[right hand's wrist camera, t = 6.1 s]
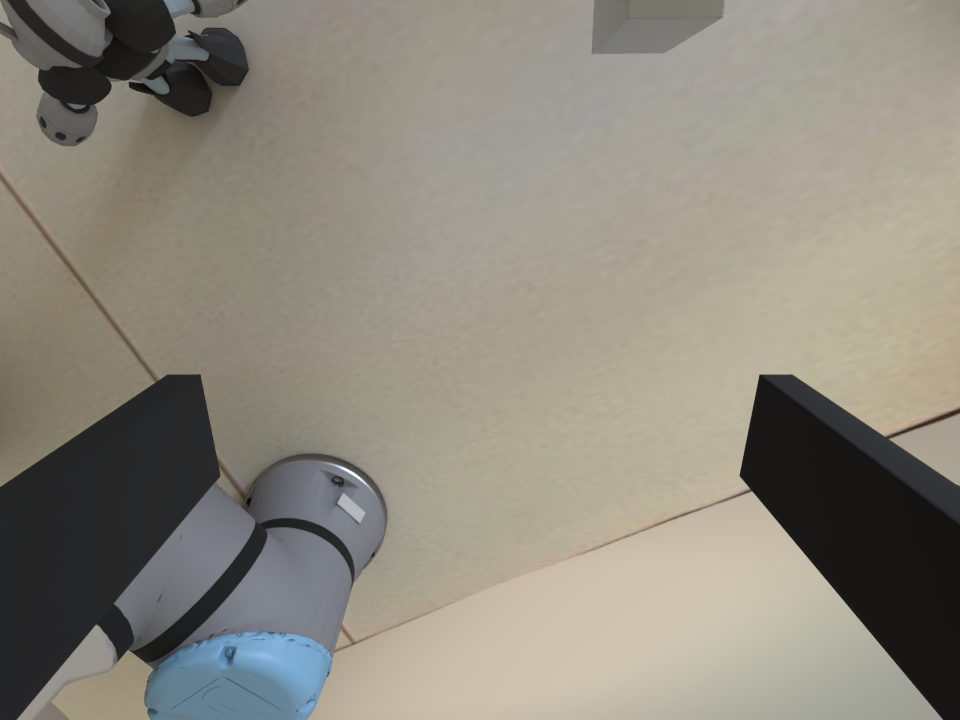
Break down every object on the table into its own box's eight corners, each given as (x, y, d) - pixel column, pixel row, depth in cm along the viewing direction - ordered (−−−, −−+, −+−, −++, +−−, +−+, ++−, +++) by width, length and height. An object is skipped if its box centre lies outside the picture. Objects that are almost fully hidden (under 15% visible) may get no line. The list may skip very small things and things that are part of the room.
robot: (142, 170, 46) (-86, 169, 27) (100, 119, 45) (-171, 81, 26) (316, 27, 43) (193, -87, 24) (276, -33, 41) (111, -204, 22)
